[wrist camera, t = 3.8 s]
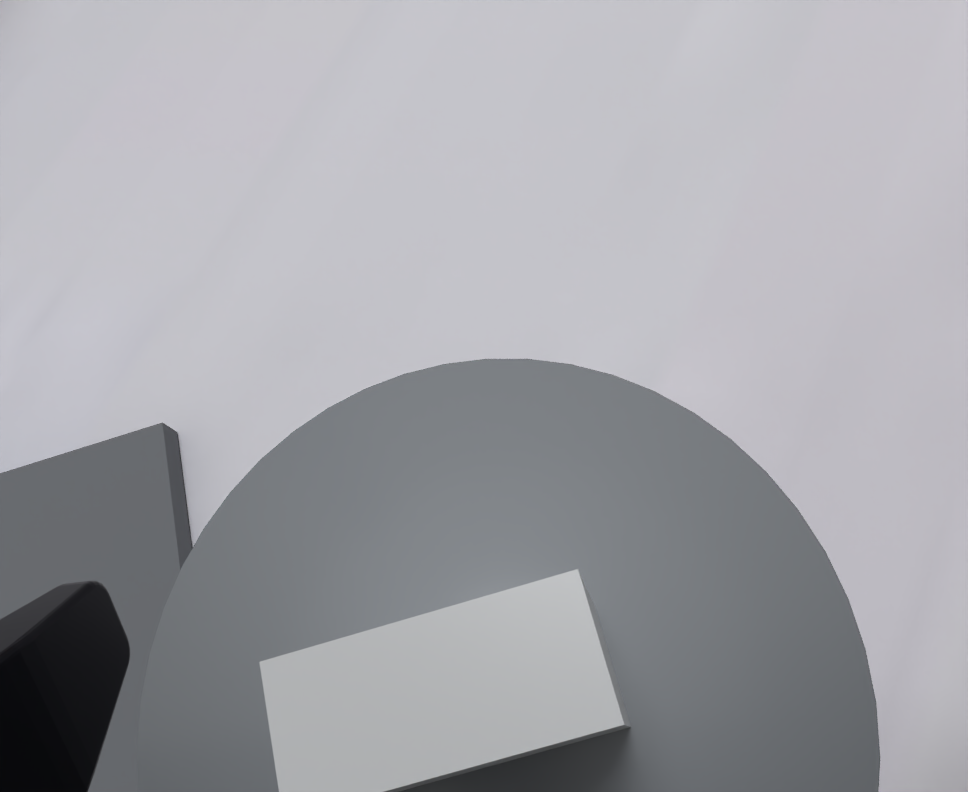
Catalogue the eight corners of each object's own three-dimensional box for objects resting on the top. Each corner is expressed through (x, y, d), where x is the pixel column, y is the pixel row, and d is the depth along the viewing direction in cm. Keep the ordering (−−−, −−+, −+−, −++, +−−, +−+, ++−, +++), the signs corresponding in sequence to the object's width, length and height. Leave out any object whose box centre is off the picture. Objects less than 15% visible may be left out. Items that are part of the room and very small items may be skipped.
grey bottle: (480, 922, 14) (13, 1439, 4) (413, 617, 16) (-23, 402, 6) (784, 842, 14) (1180, 1163, 4) (679, 540, 16) (731, 161, 5)
